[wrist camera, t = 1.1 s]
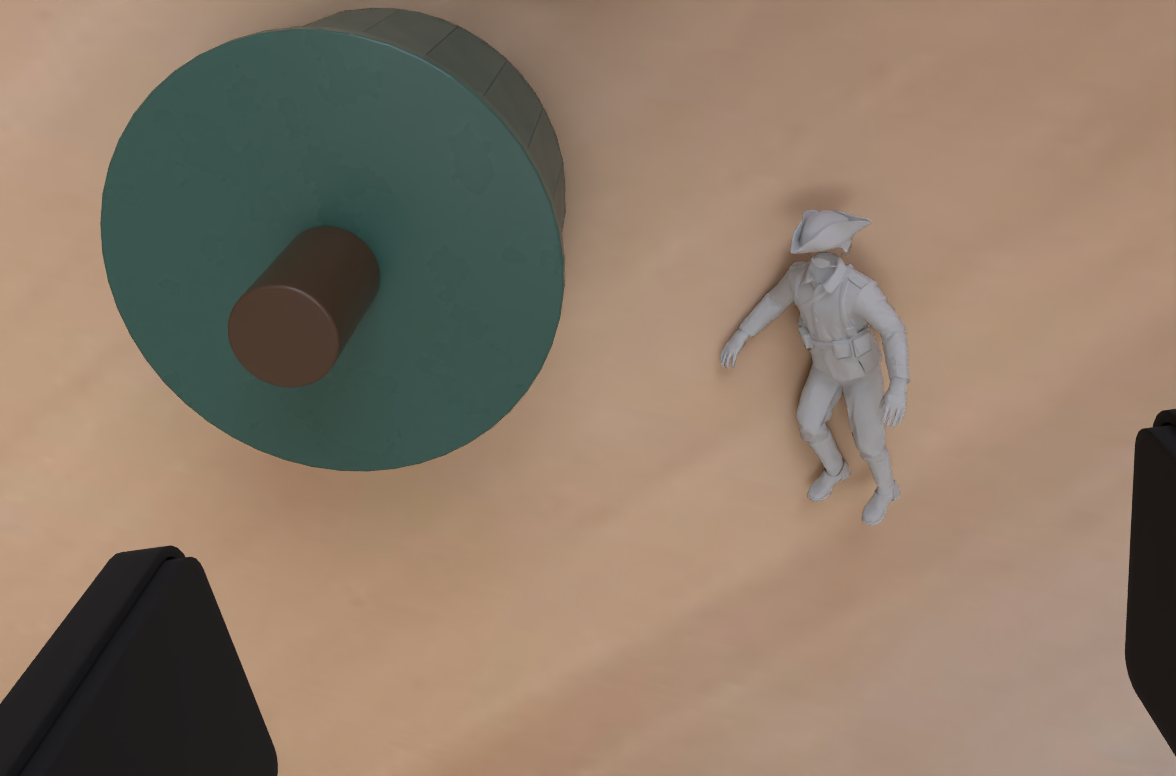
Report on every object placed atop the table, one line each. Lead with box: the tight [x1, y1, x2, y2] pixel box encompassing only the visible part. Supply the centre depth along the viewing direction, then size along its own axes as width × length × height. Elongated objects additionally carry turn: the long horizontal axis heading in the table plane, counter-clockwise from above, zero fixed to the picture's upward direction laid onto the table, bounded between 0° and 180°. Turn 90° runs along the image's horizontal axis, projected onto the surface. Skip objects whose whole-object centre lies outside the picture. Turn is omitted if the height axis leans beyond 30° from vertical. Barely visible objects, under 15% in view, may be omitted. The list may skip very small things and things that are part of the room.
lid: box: [100, 27, 565, 471], centre depth 29 cm, size 13×13×6 cm
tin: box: [303, 8, 565, 233], centre depth 35 cm, size 12×12×8 cm
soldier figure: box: [720, 210, 910, 525], centre depth 39 cm, size 8×5×12 cm
